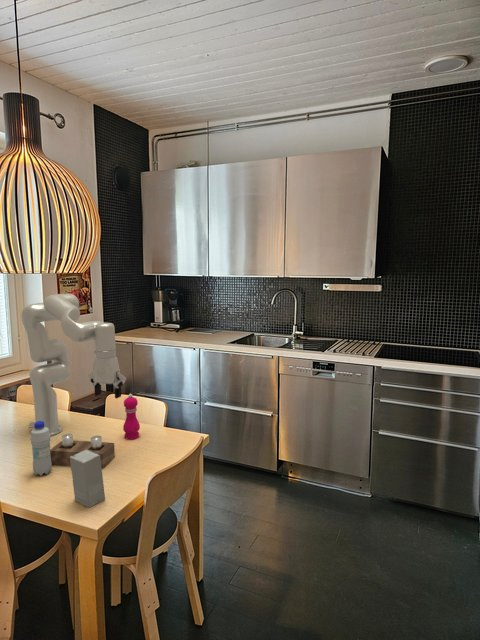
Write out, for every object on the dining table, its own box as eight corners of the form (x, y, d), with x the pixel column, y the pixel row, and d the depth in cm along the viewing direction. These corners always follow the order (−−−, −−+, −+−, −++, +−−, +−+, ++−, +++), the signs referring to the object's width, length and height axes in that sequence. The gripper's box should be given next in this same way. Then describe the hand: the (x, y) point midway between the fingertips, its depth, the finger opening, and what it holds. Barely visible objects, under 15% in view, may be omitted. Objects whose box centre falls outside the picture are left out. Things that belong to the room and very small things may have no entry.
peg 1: (60, 452, 164) (59, 437, 163) (66, 448, 168) (65, 433, 167) (70, 453, 164) (69, 438, 163) (75, 448, 168) (74, 434, 167)
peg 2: (89, 454, 162) (88, 439, 162) (94, 449, 166) (93, 435, 166) (99, 454, 162) (98, 440, 161) (104, 450, 166) (103, 435, 165)
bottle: (39, 479, 152) (36, 426, 149) (29, 474, 155) (25, 422, 152) (56, 471, 157) (53, 420, 155) (45, 467, 161) (42, 416, 158)
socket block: (49, 465, 162) (48, 450, 161) (64, 453, 172) (63, 439, 171) (103, 468, 159) (102, 453, 158) (114, 457, 169) (114, 442, 168)
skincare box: (105, 500, 138) (103, 454, 136) (86, 510, 132) (83, 462, 130) (90, 491, 143) (88, 447, 141) (71, 500, 138) (68, 455, 136)
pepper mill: (142, 434, 192) (140, 391, 189) (136, 440, 185) (135, 396, 182) (127, 433, 193) (125, 391, 190) (121, 439, 186) (119, 396, 183)
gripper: (81, 354, 165) (84, 396, 167) (118, 357, 159) (120, 401, 161) (94, 351, 172) (96, 391, 174) (130, 353, 166) (131, 395, 168)
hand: (108, 396), depth 168 cm, fingers open, 9 cm apart
